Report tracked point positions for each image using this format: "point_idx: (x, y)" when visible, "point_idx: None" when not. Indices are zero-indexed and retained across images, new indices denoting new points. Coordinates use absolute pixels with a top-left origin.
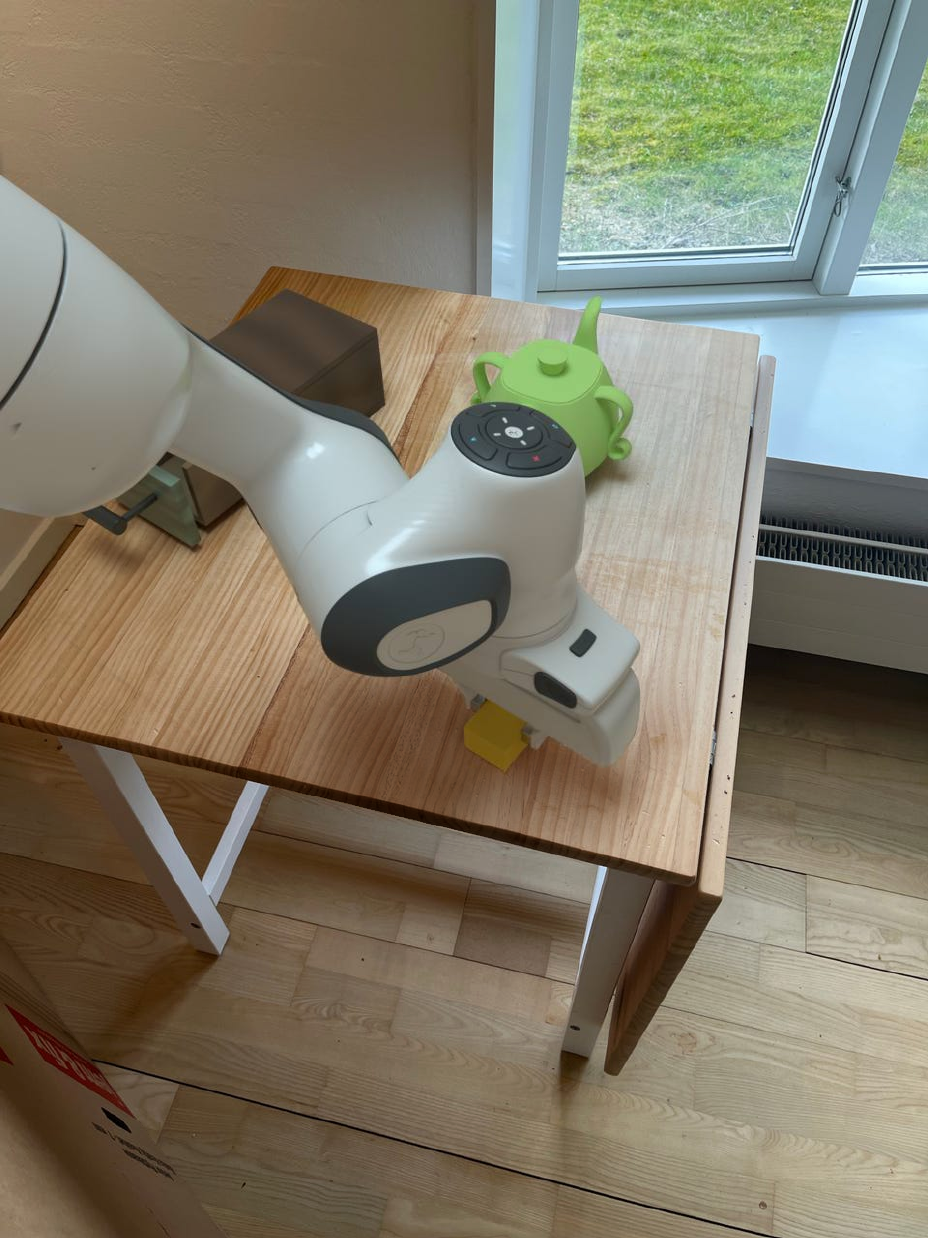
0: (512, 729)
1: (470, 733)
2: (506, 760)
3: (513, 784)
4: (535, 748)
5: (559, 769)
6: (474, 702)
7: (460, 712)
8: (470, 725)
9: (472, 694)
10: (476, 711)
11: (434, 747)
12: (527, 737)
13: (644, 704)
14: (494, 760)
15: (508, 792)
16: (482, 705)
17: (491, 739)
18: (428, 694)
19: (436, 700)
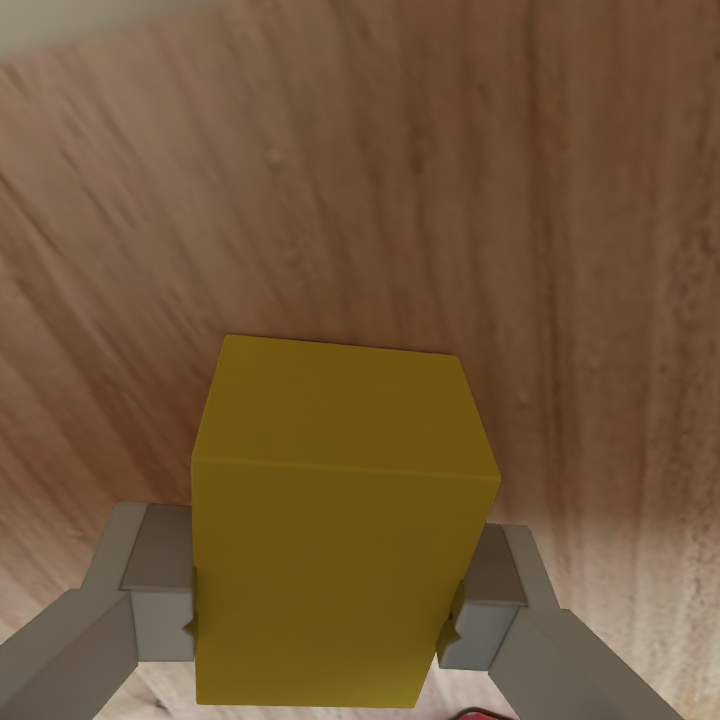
0: (247, 566)
1: (448, 456)
2: (207, 401)
3: (155, 299)
4: (112, 514)
5: (43, 440)
6: (502, 603)
7: (536, 464)
8: (467, 499)
9: (530, 642)
10: None
11: (591, 290)
12: (149, 565)
13: None
14: (284, 365)
15: (147, 252)
16: (456, 595)
17: (314, 485)
18: (687, 469)
19: (648, 463)
